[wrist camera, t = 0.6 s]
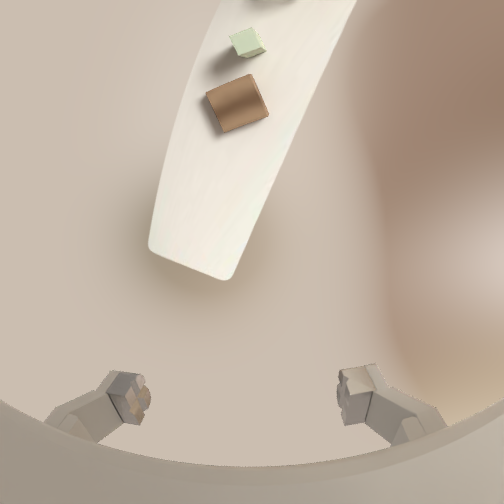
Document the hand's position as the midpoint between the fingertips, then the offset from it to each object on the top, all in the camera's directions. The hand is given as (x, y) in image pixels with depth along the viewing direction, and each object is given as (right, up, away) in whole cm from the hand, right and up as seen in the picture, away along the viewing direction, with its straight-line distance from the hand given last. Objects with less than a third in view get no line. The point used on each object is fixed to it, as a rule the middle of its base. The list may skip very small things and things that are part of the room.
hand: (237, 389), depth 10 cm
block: (+1, +44, +30) cm, 53 cm away
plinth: (-2, +35, +37) cm, 51 cm away
